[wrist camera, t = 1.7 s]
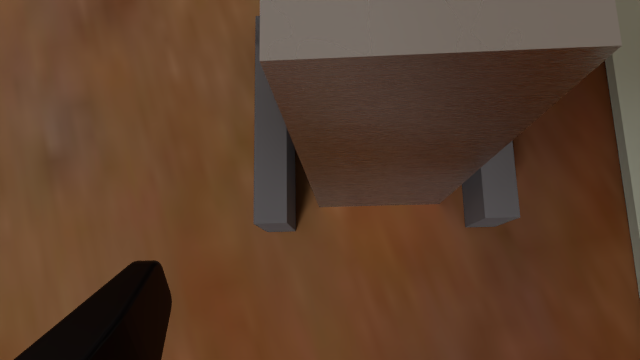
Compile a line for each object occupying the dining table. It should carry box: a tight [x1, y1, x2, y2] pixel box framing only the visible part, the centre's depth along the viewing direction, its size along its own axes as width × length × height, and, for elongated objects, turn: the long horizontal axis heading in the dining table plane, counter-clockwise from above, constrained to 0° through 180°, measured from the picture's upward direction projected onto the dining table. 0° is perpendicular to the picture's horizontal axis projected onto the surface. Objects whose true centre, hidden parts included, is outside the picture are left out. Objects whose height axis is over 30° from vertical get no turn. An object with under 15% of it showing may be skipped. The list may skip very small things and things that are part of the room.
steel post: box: [259, 0, 622, 207], centre depth 14 cm, size 5×5×14 cm
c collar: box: [254, 16, 520, 232], centre depth 20 cm, size 8×9×3 cm
